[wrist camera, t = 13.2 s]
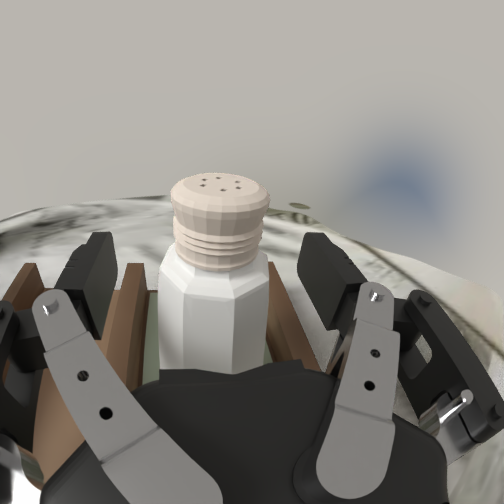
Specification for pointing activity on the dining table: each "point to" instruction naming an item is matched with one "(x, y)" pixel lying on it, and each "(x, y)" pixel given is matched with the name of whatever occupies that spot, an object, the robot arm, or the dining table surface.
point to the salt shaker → (214, 276)
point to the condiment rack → (136, 350)
